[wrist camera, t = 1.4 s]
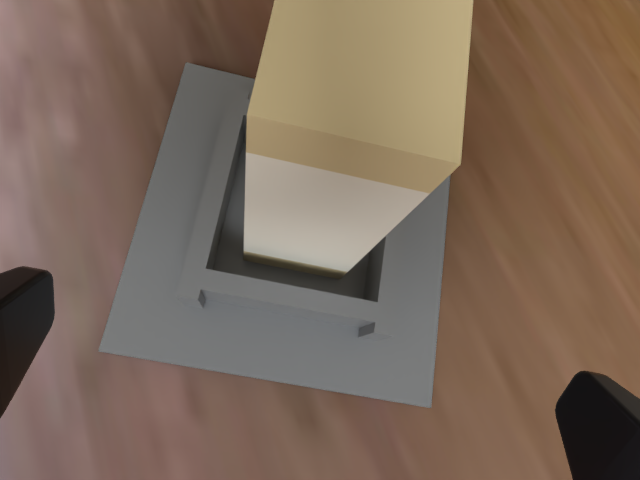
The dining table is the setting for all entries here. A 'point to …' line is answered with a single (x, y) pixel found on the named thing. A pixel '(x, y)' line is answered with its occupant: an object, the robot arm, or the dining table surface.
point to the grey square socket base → (268, 273)
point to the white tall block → (350, 125)
